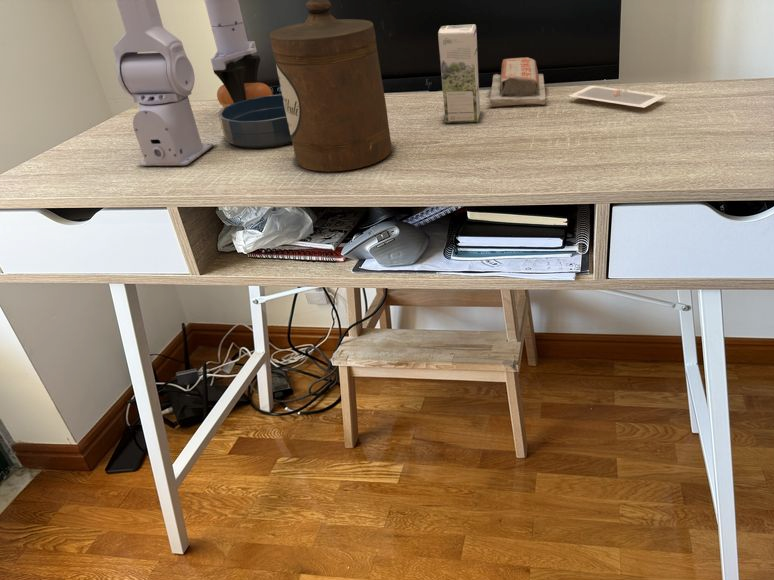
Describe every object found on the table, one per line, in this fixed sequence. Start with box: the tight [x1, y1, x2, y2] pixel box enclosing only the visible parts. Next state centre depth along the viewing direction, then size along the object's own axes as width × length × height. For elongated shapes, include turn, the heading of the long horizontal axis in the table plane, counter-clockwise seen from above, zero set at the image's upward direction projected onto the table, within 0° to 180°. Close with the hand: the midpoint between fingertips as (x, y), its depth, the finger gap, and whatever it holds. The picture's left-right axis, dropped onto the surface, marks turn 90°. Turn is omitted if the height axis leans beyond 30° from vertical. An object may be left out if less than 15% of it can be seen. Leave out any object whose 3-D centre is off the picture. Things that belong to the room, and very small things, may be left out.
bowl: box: [217, 93, 293, 149], centre depth 115 cm, size 16×16×4 cm
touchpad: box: [568, 84, 667, 109], centre depth 118 cm, size 8×15×2 cm, turn 49°
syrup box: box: [437, 23, 481, 124], centre depth 112 cm, size 6×6×14 cm
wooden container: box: [269, 0, 393, 173], centre depth 98 cm, size 15×15×22 cm
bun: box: [216, 82, 274, 109], centre depth 130 cm, size 11×5×5 cm, turn 81°
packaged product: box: [489, 56, 547, 108], centre depth 126 cm, size 18×5×10 cm
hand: (246, 100), depth 130 cm, fingers closed on bun, 4 cm apart
